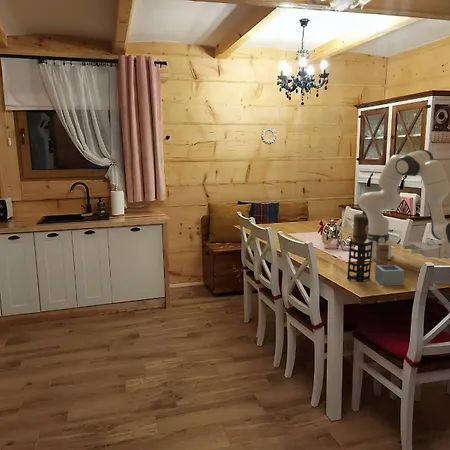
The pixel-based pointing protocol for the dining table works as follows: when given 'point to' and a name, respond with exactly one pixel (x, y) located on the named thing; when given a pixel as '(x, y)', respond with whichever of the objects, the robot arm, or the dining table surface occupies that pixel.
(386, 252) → the peg
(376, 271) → the box
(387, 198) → the robot arm
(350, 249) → the holder
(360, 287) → the dining table surface
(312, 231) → the dining table surface
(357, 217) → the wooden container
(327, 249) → the dining table surface
